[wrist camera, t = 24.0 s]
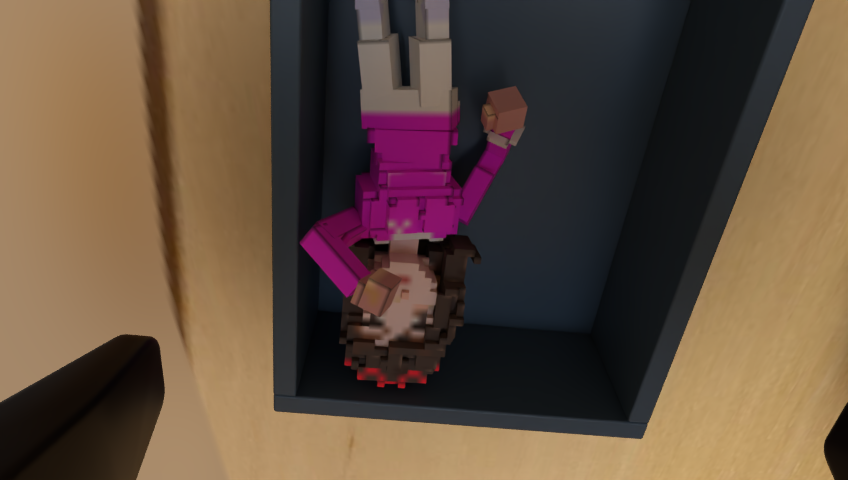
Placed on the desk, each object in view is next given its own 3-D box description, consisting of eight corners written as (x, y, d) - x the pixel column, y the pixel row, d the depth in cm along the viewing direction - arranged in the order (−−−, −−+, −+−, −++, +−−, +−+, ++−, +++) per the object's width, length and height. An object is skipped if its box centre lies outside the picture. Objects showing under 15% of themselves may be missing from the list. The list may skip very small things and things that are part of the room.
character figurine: (283, -108, 14) (318, 333, 18) (255, -159, 9) (312, 448, 14) (519, -103, 15) (496, 320, 19) (604, -148, 10) (547, 426, 14)
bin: (599, 340, 20) (642, 440, 16) (302, 314, 20) (273, 412, 16) (784, -254, 13) (947, -334, 9) (314, -325, 12) (265, -445, 8)
